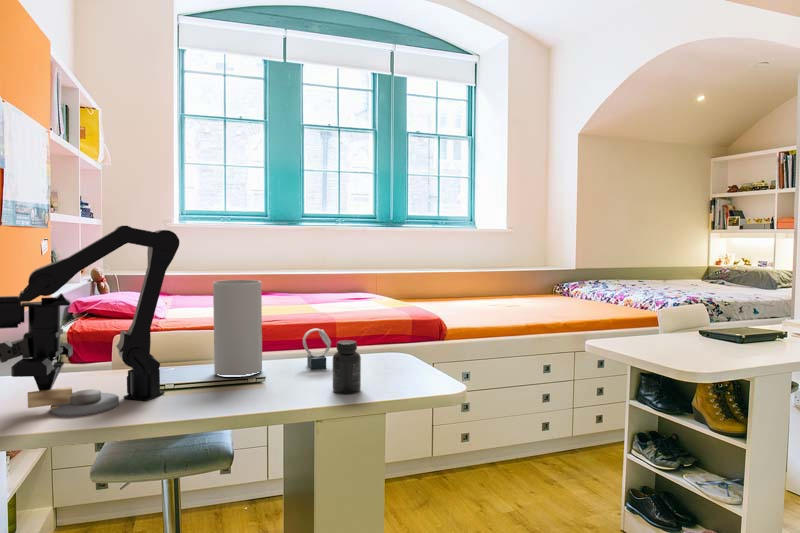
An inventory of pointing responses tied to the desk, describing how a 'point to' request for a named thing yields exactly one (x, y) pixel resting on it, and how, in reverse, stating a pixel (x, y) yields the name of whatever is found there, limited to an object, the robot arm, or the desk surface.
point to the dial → (62, 397)
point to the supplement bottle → (346, 368)
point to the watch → (317, 359)
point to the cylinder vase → (237, 327)
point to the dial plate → (86, 406)
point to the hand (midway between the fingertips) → (44, 397)
